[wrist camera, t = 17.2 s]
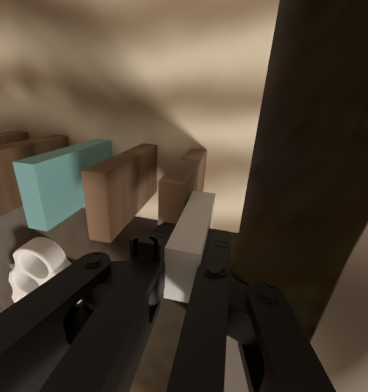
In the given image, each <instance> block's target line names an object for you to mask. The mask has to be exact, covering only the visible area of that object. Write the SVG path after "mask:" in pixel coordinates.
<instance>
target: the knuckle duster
mask: <svg viewBox="0 0 368 392" xmlns="http://www.w3.org/2000/svg"><path fill="white" fill-rule="evenodd" d="M13 258H14V261H15V264H9V265H10V267H11V269H12V270H11V271H10V274H9V282H10V284H11V286H12V289H13V295H12V296H11V297H12V299H13V301H14V303H16V302H17V301H19V300H20V299H21V298H23V297H24V296H26V295H27V294H29V293H30V292H32V291H33V290H34V289H36V288H37V287H39V286H40V285H42V284H43V283H45V282H46V281H48V280H49V279H50V278H52V277H53V276H55V275H56V274H58V273H59V272H61V271H62V270H63V269H65V268H66V267H68V266H69V265H71V264H72V263H71V262H70V261H69V260H68V259H67V258H66V255H65V253H64V251H63V250H62V249H61V247H60V246H59V245H58V244H57V243H55V242H54V241H52V240H50V239H48V238H45V237H35V238H33V239H32V240H30V241H29V242H27V243H26V244H24V245H23V246H21V247H20V248H18V249H17V250H16V251H15V252H14V253H13ZM80 301H82V299H81V300H80ZM80 301H79V302H80ZM79 302H78V303H79ZM78 303H77V304H78Z"/></svg>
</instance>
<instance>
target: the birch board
mask: <svg viewBox="0 0 368 392" xmlns="http://www.w3.org/2000/svg"><path fill="white" fill-rule="evenodd" d="M278 6H279V0H0V133H2V132H9V131H25V132H28V133H29V138H30V139H34V138H39V137H45V136H50V135H64V136H68V138H69V145H70V146H72V145H76V144H79V143H83V142H87V141H90V140H94V139H106V140H111V142H112V157H113V156H115V155H117V154H120V153H122V152H124V151H126V150H129V149H131V148H133V147H135V146H137V145H140V144H142V143H144V144H154V145H157V192H156V193H155V194H154V195H153V196H152V197H151V198H150V200H149V201H148V202H147V203H146V204H145V205H144V206H143V207H142V209H141V210H140V211H139V212H138V213H137V214H136V215H135V216H137V217H143V218H149V219H155V220H158V183H159V180H160V179H161V178H162V177H163V176H164V175H165V174H166V173H167V172H168V171H169V170H170V169H171V168H172V167H173V166H174V165H175V164H176V163H177V162H178V161H179V160H180V159H181V158H182V157H183V156H184V155H185V154H186V153H187V152H188V151H189V150H190V149H191V148H193V149H203V150H207V158H206V168H205V178H204V189H203V192H209V193H216V196H215V205H214V214H213V223H212V229H218V230H224V231H230V232H236V233H239V227H240V222H241V216H242V210H243V205H244V199H245V193H246V188H247V182H248V176H249V170H250V165H251V159H252V153H253V148H254V142H255V136H256V131H257V125H258V119H259V114H260V108H261V102H262V97H263V91H264V85H265V80H266V74H267V68H268V63H269V57H270V51H271V46H272V40H273V34H274V29H275V23H276V17H277V12H278ZM82 208H85V206H84V207H82Z"/></svg>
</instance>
